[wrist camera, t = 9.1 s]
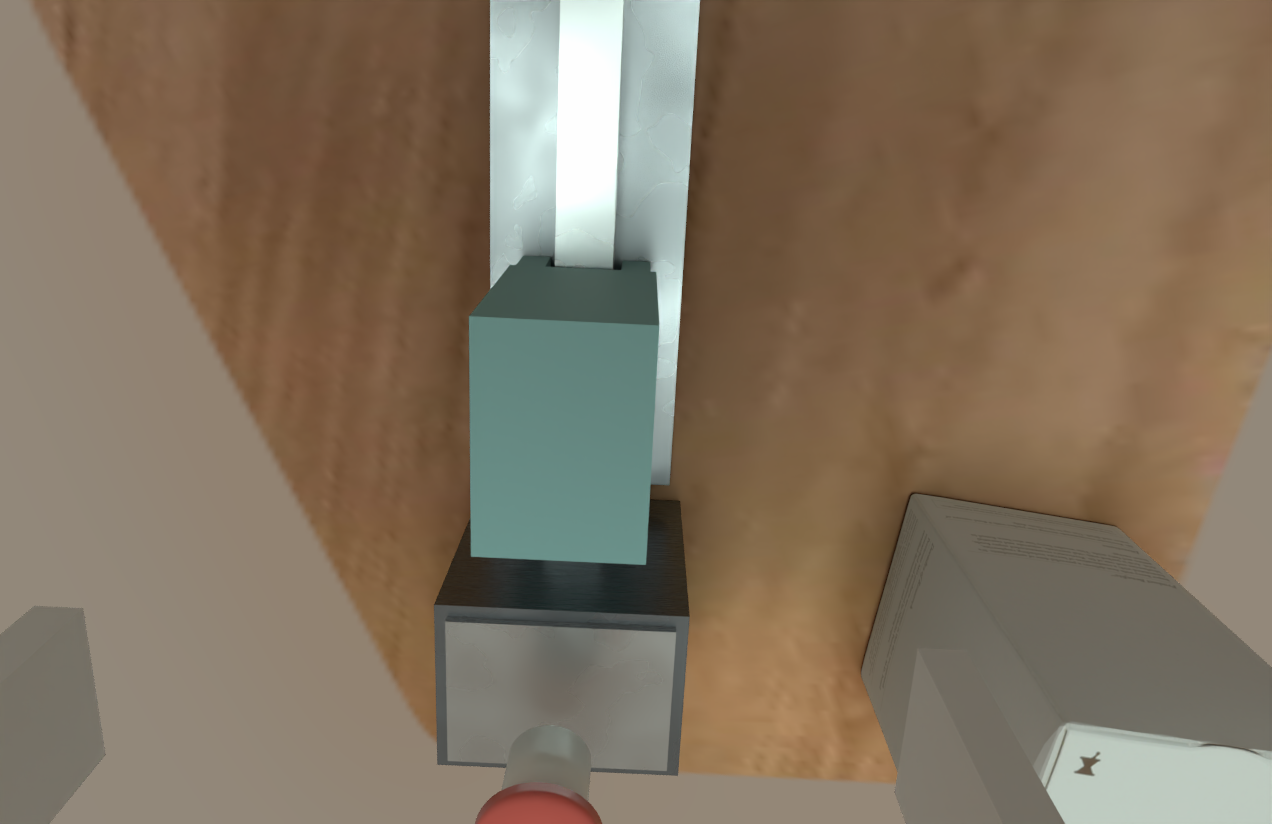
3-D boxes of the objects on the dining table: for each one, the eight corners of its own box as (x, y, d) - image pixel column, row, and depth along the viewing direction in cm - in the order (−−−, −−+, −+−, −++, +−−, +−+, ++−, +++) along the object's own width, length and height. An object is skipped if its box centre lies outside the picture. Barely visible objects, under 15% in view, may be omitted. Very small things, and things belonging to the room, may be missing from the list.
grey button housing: (481, 491, 39) (432, 609, 30) (680, 501, 39) (689, 621, 30) (481, 622, 40) (435, 770, 32) (671, 631, 41) (678, 781, 32)
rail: (494, -117, 32) (473, -145, 28) (705, -106, 32) (713, -133, 28) (493, 487, 39) (476, 530, 35) (667, 495, 39) (670, 539, 35)
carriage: (517, 255, 35) (469, 316, 25) (655, 262, 35) (659, 325, 25) (515, 437, 37) (470, 556, 27) (645, 443, 37) (645, 564, 27)
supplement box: (853, 677, 41) (961, 985, 27) (908, 487, 38) (1061, 719, 24) (1057, 710, 42) (1270, 1031, 27) (1126, 525, 39) (1403, 774, 25)
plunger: (491, 707, 27) (467, 801, 24) (611, 713, 27) (605, 807, 24) (491, 805, 28) (468, 908, 25) (606, 810, 28) (600, 915, 25)
